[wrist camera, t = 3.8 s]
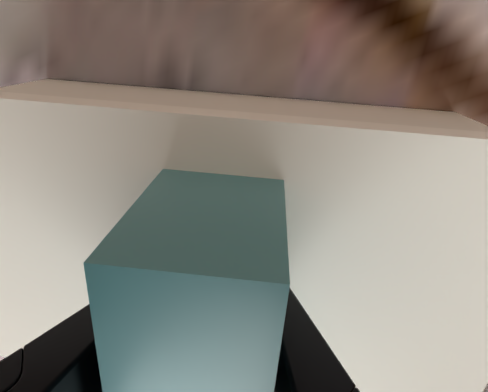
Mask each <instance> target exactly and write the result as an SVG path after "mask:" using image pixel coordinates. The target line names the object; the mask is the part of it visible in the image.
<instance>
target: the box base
mask: <svg viewBox="0 0 488 392" xmlns="http://www.w3.org/2000/svg"><path fill="white" fill-rule="evenodd" d="M0 92H12V93H24V94H36V95H48V96H60V97H72V98H84V99H96V100H108V101H120V102H132V103H144V104H156V105H168V106H180V107H192V108H204V109H216V110H228V111H240V112H252V113H264V114H276V115H288V116H300V117H312V118H324V119H336V120H348V121H360V122H372V123H384V124H396V125H408V126H420V127H432V128H444V129H456V130H468V131H480V132H488V126H487V125H484V124H482V123H480V122H477V121H475V120H473V119H470V118H468V117H466V116H463V115H461V114H459V113H456V112H450V111H438V110H425V109H413V108H401V107H388V106H376V105H363V104H351V103H339V102H326V101H314V100H302V99H289V98H277V97H265V96H252V95H240V94H228V93H215V92H203V91H191V90H178V89H166V88H154V87H141V86H129V85H117V84H104V83H92V82H80V81H67V80H55V79H43V80H37V81H32V82H27V83H21V84H16V85H11V86H5V87H0Z"/></svg>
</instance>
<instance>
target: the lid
mask: <svg viewBox="0 0 488 392" xmlns="http://www.w3.org/2000/svg"><path fill="white" fill-rule="evenodd" d="M289 288H291V290H292V291H293V293H294V294H295V296H296V297H297V299H298V300H299V302H300V303H301V305H302V306H303V308H304V309H305V311H306V312H307V314H308V315H309V317H310V318H311V320H312V321H313V323H314V324H315V326H316V327H317V329H318V330H319V332H320V333H321V335H322V336H323V338H324V339H325V341H326V342H327V343H328V345H329V346H330V348H331V349H332V351H333V352H334V354H335V355H336V357H337V358H338V360H339V361H340V363H341V364H342V366H343V367H344V369H345V370H346V372H347V373H348V375H349V376H350V378H351V379H352V381H353V382H354V384H355V386H356V387H355V388H358V389H359V391H360V392H483V391H484V389H485V387H486V385H487V383H488V132H480V131H468V130H456V129H444V128H432V127H420V126H408V125H396V124H384V123H372V122H360V121H348V120H336V119H324V118H312V117H300V116H288V115H276V114H264V113H252V112H240V111H228V110H216V109H204V108H192V107H180V106H168V105H156V104H144V103H132V102H120V101H108V100H96V99H84V98H72V97H60V96H48V95H36V94H24V93H12V92H0V356H3V357H7V356H9V355H11V354H12V353H14V352H15V351H17V350H18V349H20V348H24V346H25V345H26V344H28V343H29V342H31V341H32V340H34V339H36V338H37V337H39V336H40V335H42V334H43V333H45V332H46V331H48V330H50V329H51V328H53V327H54V326H56V325H57V324H59V323H60V322H62V321H63V320H65V319H67V318H68V317H70V316H71V315H73V314H74V313H76V312H77V311H79V310H81V309H82V308H84V307H85V306H87V305H88V304H89V305H90V311H91V318H92V325H93V332H94V338H95V345H96V352H97V359H98V365H99V372H100V379H101V386H102V392H274V388H275V382H276V375H277V368H278V362H279V355H280V348H281V342H282V335H283V328H284V321H285V315H286V308H287V301H288V295H289Z"/></svg>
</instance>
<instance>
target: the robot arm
mask: <svg viewBox="0 0 488 392" xmlns="http://www.w3.org/2000/svg"><path fill="white" fill-rule="evenodd" d="M355 387H356V386H355V384H354V382H353V381H352V379H351V378H350V376H349V375H348V373H347V372H346V370H345V369H344V367H343V366H342V364H341V363H340V361H339V360H338V358H337V357H336V355H335V354H334V352H333V351H332V349H331V348H330V346H329V345H328V343H327V342H326V341H325V339H324V338H323V336H322V335H321V333H320V332H319V330H318V329H317V327H316V326H315V324H314V323H313V321H312V320H311V318H310V317H309V315H308V314H307V312H306V311H305V309H304V308H303V306H302V305H301V303H300V302H299V300H298V299H297V297H296V296H295V294H294V293H293V291H292V290H291V288H289V295H288V301H287V308H286V315H285V321H284V328H283V335H282V342H281V348H280V355H279V362H278V368H277V375H276V382H275V388H274V392H360V391H359V389H358V388H355ZM0 392H102V386H101V379H100V372H99V365H98V359H97V352H96V345H95V338H94V332H93V325H92V318H91V311H90V305H89V304H88V305H87V306H85V307H84V308H82V309H81V310H79V311H77V312H76V313H74V314H73V315H71V316H70V317H68V318H67V319H65V320H63V321H62V322H60V323H59V324H57V325H56V326H54V327H53V328H51V329H50V330H48V331H46V332H45V333H43V334H42V335H40V336H39V337H37V338H36V339H34V340H32V341H31V342H29V343H28V344H26V345H25V346H24V348H20V349H18V350H17V351H15V352H14V353H12V354H11V355H9V356H7V357H6V358H4V359H3V360H1V361H0Z"/></svg>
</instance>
